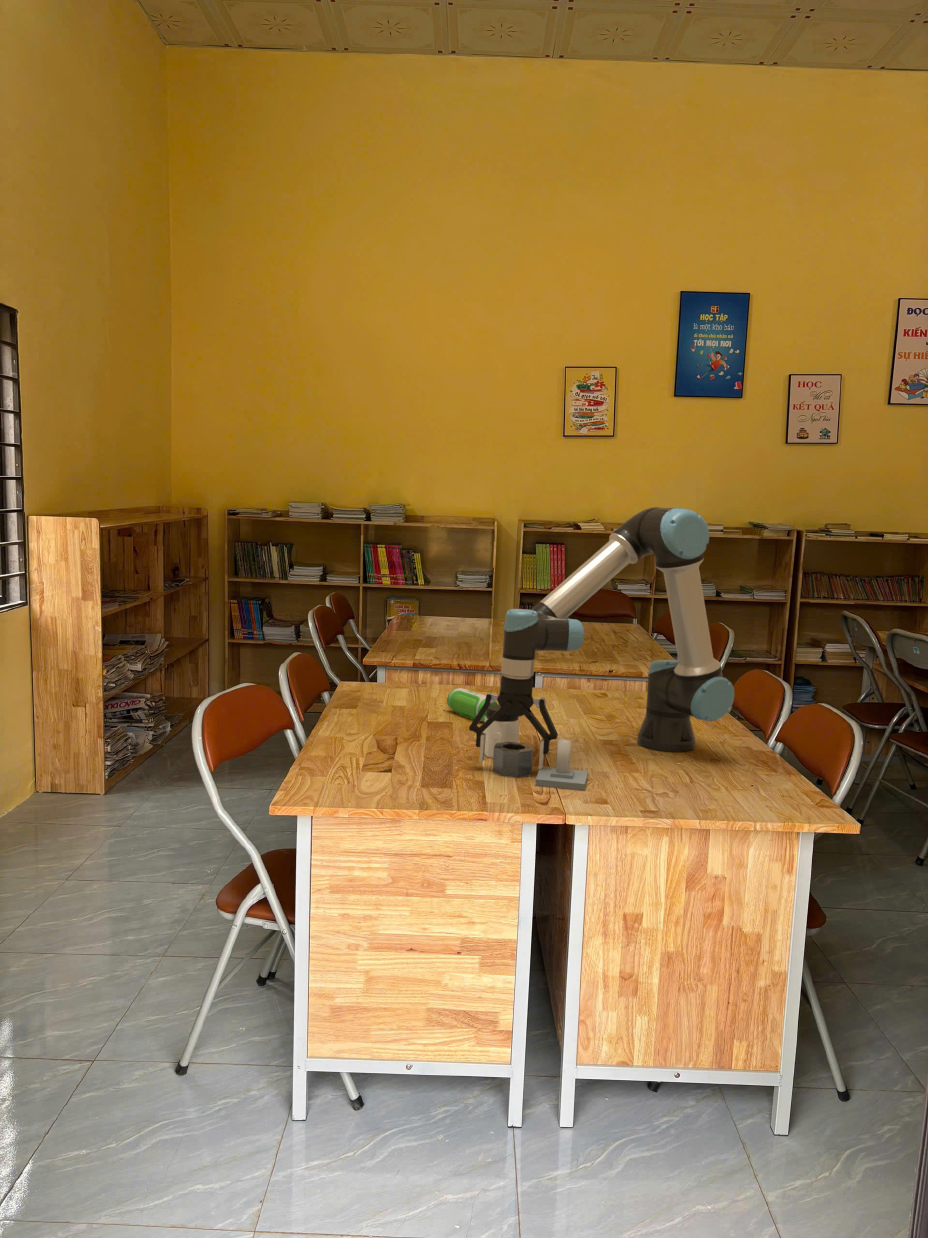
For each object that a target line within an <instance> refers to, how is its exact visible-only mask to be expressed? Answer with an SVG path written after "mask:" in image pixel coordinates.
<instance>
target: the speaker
mask: <svg viewBox="0 0 928 1238" xmlns="http://www.w3.org/2000/svg"><path fill="white" fill-rule="evenodd" d="M485 699H486V695H485V694H482V693H478V692H475V691H472V690H469V689H466V688H463V687H458V688H453V689H452V690H451V691H450V692H449V694H448V695H447V699H446V702H447V705H448V708H450V710H452V711H453V712H454V713H456V714H458V715H459V716H462V717H463V718H468V719H470V720H473V721H474V719H475V717H476V716H477V714H478V713H479V711H480V710H481V708H482V706H483V705H484V703H485ZM490 705H499V703H498V701H497V700H496V701H494V703H493V704H490ZM485 716H486V712H485V713H484V715H483V717H482V718H481V720H480V721H479V722H481V723H485Z"/></svg>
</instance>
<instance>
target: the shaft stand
mask: <svg viewBox="0 0 928 1238" xmlns="http://www.w3.org/2000/svg"><path fill="white" fill-rule="evenodd" d="M571 745H572V740H569V739H564V738H563V739H562V738H560V739H557V751H556V767H550V766H543V767H542V769H539V771H538V773H537V775H536V778H535V782H534V783H535V787H544V788H556V789H563V790H576V791H585V789H586V785H587V781H588V777H589V771H588V770H583V769H582V770H581V769H572V768H571V769H570V767H571V765H570V764H571V762H570V761H571V747H572V746H571Z"/></svg>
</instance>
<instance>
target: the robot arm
mask: <svg viewBox="0 0 928 1238" xmlns="http://www.w3.org/2000/svg"><path fill="white" fill-rule="evenodd" d="M608 538H609V539H608V541H607V542H606V543H605V544H604V545H603V546H602V547H601V548H600V549H598V550H597V551H596V552H595V553H594V554H593V555H592V556H591V557H590V558H587V560H586V561H584V563H582V564H581V565H580V566H579V567H578V568H577V569H576V570H574V571H573V572H572V573H571V574H570V575H569V576H567V578H566V579H564V580H563V581H562V582H561V583H560V584H559V585H558V586H556V587H555V588H554V589H553V590H551V592H549V593H548V594H547V595H546V596H545V597H544V598H542V600H540V601H539V602H538V603H537V604H536V605H535V606H533V607H532V608H531V609H524V608H523V609H522V608H511V609H509V610H507V612H506V614H505V618H504V624H503V625H504V626H503V644H502V658H501V669H500V670H501V674H502V675H501V676H500V687H499V694H493V692H488V693H487V694H486V695H485V696H486V699H485V703H484V705H483V706H482V708H481V710H480V711H479V713H478V714H477V716H476V717H475V719H474V720H473V721H472V722H471V724H470V726H469V727H468V730H469V731H471V732H473V733H475V735H476V739H475V747H476V748H479V761H478V762H479V763H483V762H484V761H485V756H486V755H485V740H486V733H484V730H485V729H486V728H487V727H488V726H490V725H491V724H492V723H493V722H494V721H495V720H496V719H497V718H498V717H499V716H500V715H501V714H503V713H505V714H507V715H509V716H511V715H515V716H519V718H520V717H522V716H524V717H525V718H526V719H527V720H528V721H529V723H531V725H532V726H533V728H534V729H535V730H536V732H537V733H538V734H539V735H540V737H541V740H540V745H539V746H540V747H539V759H538V769H539V770H540V769H542V767H544V759H545V755H546V756H548V754H549V751H550V742H551V741H552V740H553V741H554V740H558V736H559V733H558V730H557V729H556V727H555V723H554V722H553V720H552V718H551V716H550V713H549V711H548V709H547V706H546V705H547V704H546V698H545V697H541V698H533V686H534V678H533V676H534V673H535V658H536V651H537V652H538V651H539V652H541V651H543V652H544V651H547V652H548V651H551V652H552V651H557V652H560V651H561V652H569V651H578V650H580V648H582V646H583V644H584V641H585V629H584V625H583V623H582V622H581V620H578V619H576V618H575V619H573V618H570V616H571V615H572V614H573V613H574V612H576V611H577V610H578V609H579V608H580V607H581V606H583V604H584V603H585V602H588V600H589V599H590V598H591V597H592V596H593V595H595V594H596V593H597V592H598V591H599V590H600V589H602V588H603V587H604V585H606V584H607V583H608V582H609V581H611V580H612V579H613V578H614V577H615V576H616V575H617V574H619V573H620V572H621V571H622V570H624V569H625V567H627V566H628V565H629V564H632V565H633V564H637V562H638V561H639V560H641V559H642V558H644V557H647V556H649V555H653V557H654V561H655V568H656V569H657V570H659V571H661V572H662V574H663V578H664V583H665V590H666V596H667V601H668V607H669V613H670V618H671V624H672V625H671V626H672V629H673V636H674V643H675V648H676V654H677V659H658V660H653V661H652V662H650V664H649V668H648V673H647V676H648V679H647V680H648V681H647V692H646V693H647V695H646V706H645V707H646V710H645V716H644V718H643V721H642V723H641V726H640V729H639V730H638V732H637V740H636V741H637V744H638V745H640V746H641V747H644V748H647V749H651V750H655V751H662V752H672V753H673V752H677V753H681V752H689V751H693V750H694V749H695V748H696V747H695V746H696V737H695V733H694V730H693V725H692V721H691V717H694V718H695V719H696V720H699V721H706V722H714V721H715V722H716V721H718V720H720V719H722V718H723V717H725V715H727V713H728V712H729V709H730V708H732V706H733V703H734V700H735V688H734V685H733V684H732V682H731V681H730V680H729V679H727V678H726V677H723V671H722V665H721V662H720V661H718V660H717V659H716V658H714V653H713V648H712V640H711V635H710V627H709V621H708V617H707V610H706V604H705V597H704V592H703V586H702V579H701V574H700V569H699V568H700V565H701V564H702V563H703V561H704V560H705V558H704V553H705V551H706V550H707V545H709V542H710V530H709V526H708V524H707V522H706V520H705V519H704V518H703V516H701V515H700V514H699V513H698V512H696V511H694V510H691V509H687V508H682V507H649V508H645V509H643V510H641V511H639V512H637V513H636V514H635V515H633V516H632V517H630V518H629V519H628V520H626V521H625V522H624V523H622V524H621V525H620V526H618V527H617V528H616V530H614V531H613V532H612V533H611V534H610V535H609V537H608ZM494 701H496V702H497V703H498V705H500V706H501V707H500V708H499V709H498V710H497V711H496V712H495V713H494V714H493V715H492V716H491V717H490V718H489V719H488V720H487V721H486V722H483V723H482V724H481V725H480V726H479V725H478V724H479V723H480V722H481V721H480V720H481V718H482V717H483V715H484V713H485V712H486V710H487V709H488V707H489V706H490V704H493V703H494ZM533 705H534V706H535V707H536V708H537V709H539V712H540V714H541V717H542V719H543V720H544V723H545V726H546V727H547V730H548V731H547V730H546V729H545V727H544V726H543V725H542V723H541V722H540V721H539V720H538V718H537V717H536V716H535V714H534V713H533V711H532V710H531V708H532V706H533ZM548 732H549V733H548Z"/></svg>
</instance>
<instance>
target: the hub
mask: <svg viewBox="0 0 928 1238" xmlns="http://www.w3.org/2000/svg"><path fill="white" fill-rule="evenodd" d="M533 757H534V746H533V745H530V744H527V743H525V742H519V743H518V742H502V743H496V745H495V746H494V758H492V759H493V762H492V773H494V774H497V775H498V776H501V777H508V778H510V777H511V778H523V777H530V776H531V775H532V772H533V759H534V758H533Z"/></svg>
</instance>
